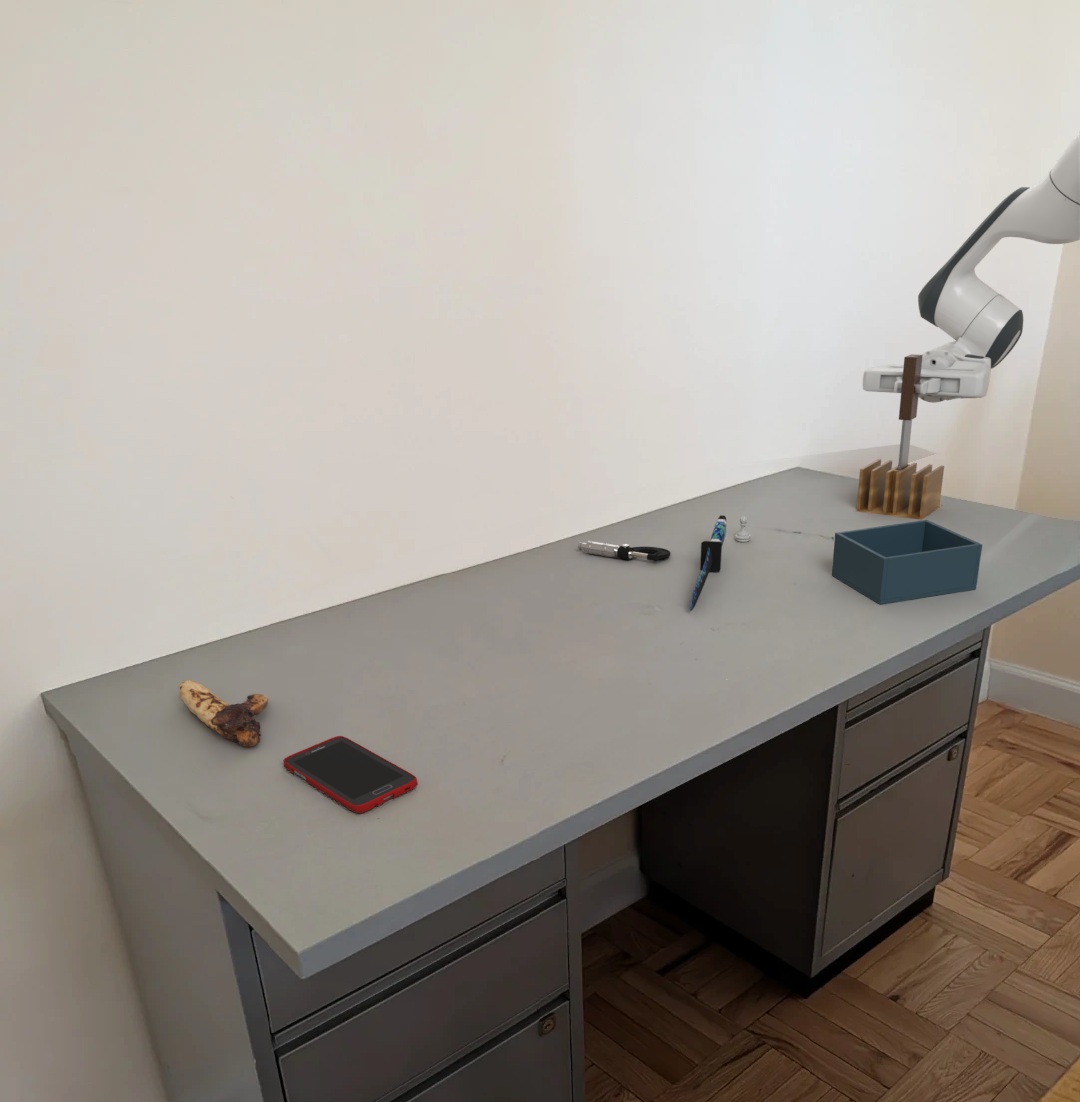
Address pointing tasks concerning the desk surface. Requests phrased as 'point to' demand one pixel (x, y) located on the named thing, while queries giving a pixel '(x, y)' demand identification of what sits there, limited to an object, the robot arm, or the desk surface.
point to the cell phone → (350, 773)
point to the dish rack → (899, 490)
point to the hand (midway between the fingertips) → (908, 388)
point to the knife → (710, 556)
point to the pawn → (743, 531)
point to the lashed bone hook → (225, 713)
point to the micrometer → (623, 551)
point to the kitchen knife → (908, 404)
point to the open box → (906, 561)
